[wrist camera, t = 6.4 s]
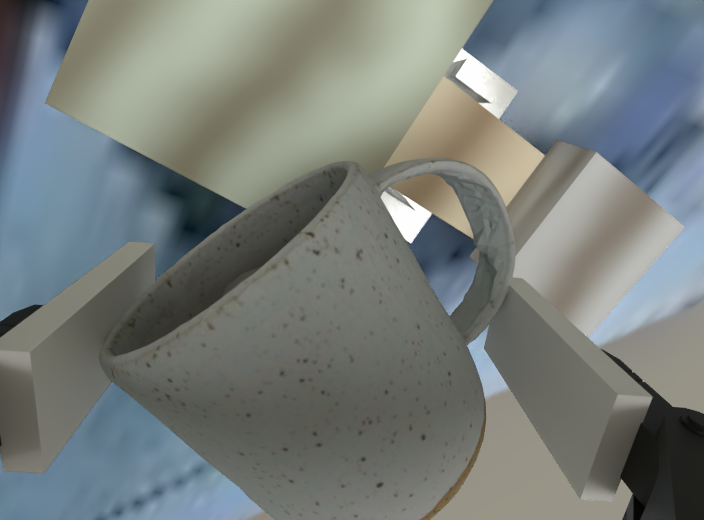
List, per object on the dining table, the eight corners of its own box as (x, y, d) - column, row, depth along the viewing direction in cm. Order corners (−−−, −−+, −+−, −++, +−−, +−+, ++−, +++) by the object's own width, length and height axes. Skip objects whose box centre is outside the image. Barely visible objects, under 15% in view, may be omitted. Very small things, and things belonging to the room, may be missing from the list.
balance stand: (314, 179, 32) (311, 201, 25) (414, 17, 29) (441, -7, 22) (408, 238, 34) (429, 273, 27) (511, 91, 31) (563, 89, 24)
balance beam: (65, 97, 21) (21, 110, 17) (219, -255, 18) (211, -349, 13) (539, 351, 34) (581, 395, 30) (686, 178, 30) (758, 200, 26)
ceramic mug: (300, 431, 18) (292, 651, 11) (155, 271, 16) (17, 419, 8) (538, 281, 17) (708, 418, 10) (421, 81, 14) (532, 61, 7)
